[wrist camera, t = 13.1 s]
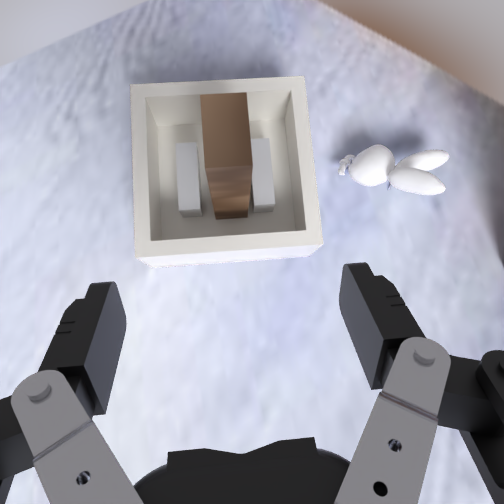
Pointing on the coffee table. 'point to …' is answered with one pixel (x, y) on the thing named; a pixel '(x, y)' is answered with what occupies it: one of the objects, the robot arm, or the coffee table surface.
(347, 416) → the coffee table surface
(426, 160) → the rabbit figurine
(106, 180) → the coffee table surface
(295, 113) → the white square tray
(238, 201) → the brown rectangular block
